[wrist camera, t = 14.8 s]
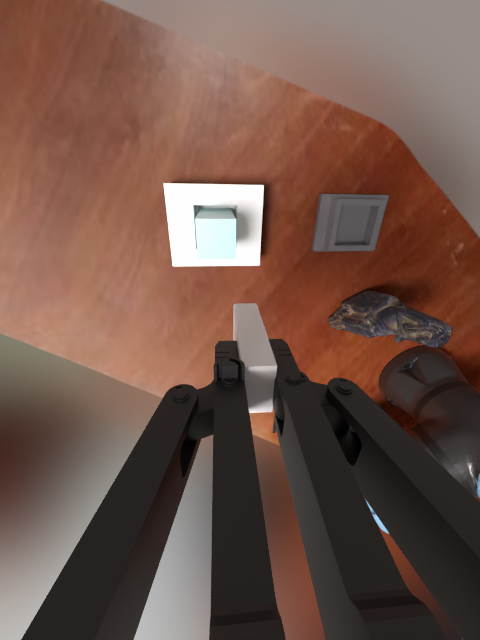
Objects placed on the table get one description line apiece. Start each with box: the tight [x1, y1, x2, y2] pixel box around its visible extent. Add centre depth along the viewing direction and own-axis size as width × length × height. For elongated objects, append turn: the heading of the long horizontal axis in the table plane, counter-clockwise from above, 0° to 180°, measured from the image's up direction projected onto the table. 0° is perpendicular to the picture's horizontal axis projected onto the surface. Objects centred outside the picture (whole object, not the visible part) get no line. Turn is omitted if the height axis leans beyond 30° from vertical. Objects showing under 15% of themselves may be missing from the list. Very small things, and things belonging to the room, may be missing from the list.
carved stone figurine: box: [328, 291, 452, 348], centre depth 40 cm, size 6×12×15 cm, turn 118°
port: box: [164, 183, 264, 266], centre depth 35 cm, size 12×10×5 cm
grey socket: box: [311, 194, 389, 251], centre depth 38 cm, size 10×8×3 cm
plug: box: [195, 208, 236, 260], centre depth 31 cm, size 4×4×12 cm
